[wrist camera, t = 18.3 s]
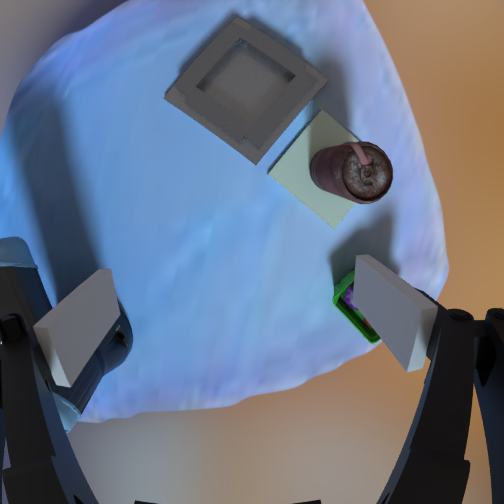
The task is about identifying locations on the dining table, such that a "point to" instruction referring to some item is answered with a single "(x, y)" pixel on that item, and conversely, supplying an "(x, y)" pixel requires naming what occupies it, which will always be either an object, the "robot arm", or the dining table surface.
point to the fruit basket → (352, 307)
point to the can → (353, 171)
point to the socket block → (246, 88)
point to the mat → (298, 175)
